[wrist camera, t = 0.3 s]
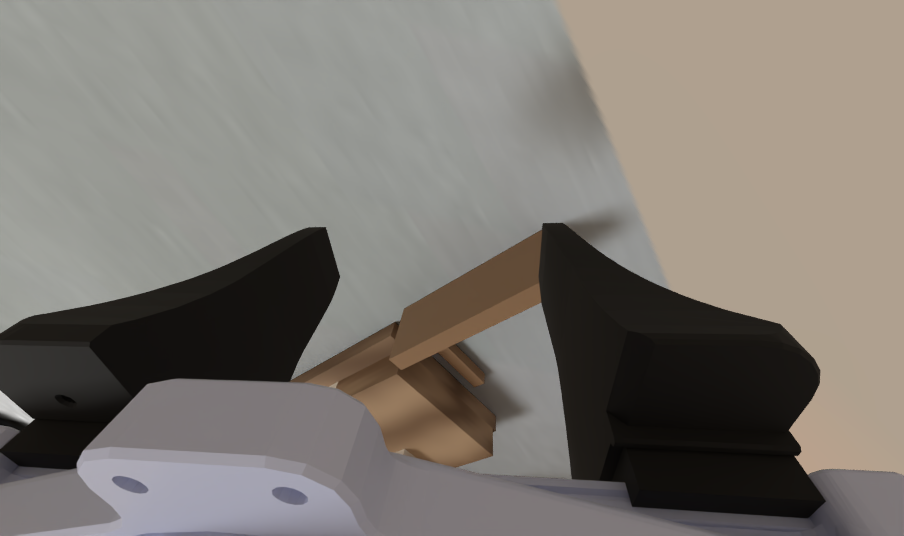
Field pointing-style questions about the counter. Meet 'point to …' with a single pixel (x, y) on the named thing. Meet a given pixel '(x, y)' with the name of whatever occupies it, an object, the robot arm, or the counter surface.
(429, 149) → the counter surface
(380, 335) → the wooden block stack
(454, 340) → the wooden l-shaped bracket
